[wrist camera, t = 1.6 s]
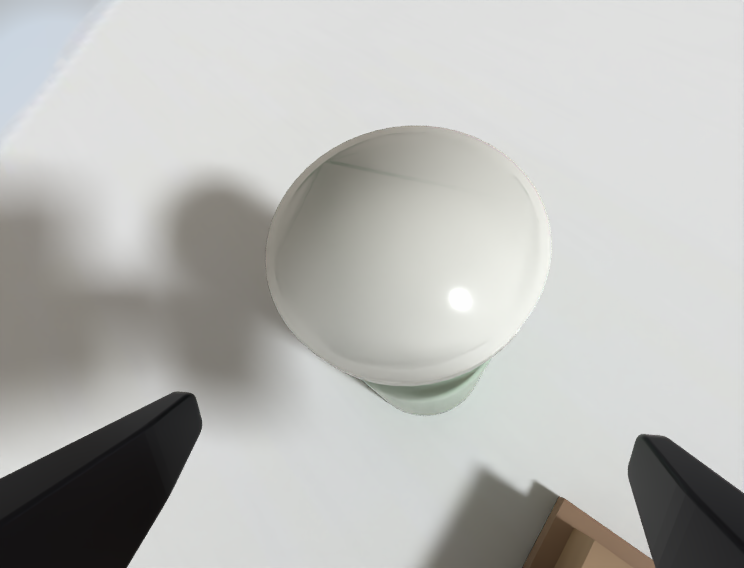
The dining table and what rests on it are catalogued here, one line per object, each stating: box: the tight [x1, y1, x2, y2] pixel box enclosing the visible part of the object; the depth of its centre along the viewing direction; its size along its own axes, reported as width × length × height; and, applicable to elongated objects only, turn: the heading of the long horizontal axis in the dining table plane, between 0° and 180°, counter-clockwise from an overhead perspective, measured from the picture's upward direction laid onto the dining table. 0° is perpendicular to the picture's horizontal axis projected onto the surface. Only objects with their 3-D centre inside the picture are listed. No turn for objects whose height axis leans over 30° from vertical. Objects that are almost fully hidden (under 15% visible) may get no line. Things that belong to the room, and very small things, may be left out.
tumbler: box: [265, 126, 552, 416], centre depth 14 cm, size 6×6×12 cm
